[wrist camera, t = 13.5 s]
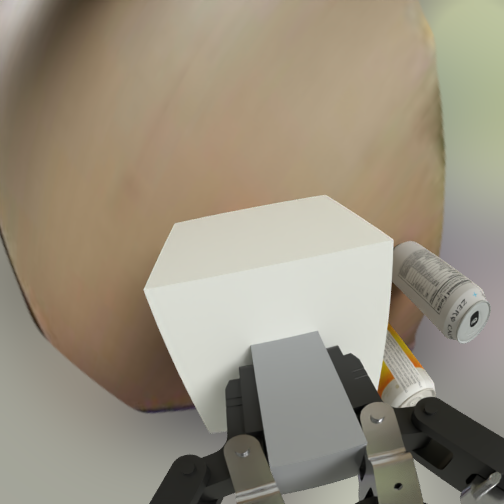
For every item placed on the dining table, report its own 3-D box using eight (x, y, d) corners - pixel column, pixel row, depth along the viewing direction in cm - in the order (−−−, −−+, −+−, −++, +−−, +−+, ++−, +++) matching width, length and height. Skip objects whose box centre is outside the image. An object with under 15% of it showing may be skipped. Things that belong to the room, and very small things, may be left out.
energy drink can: (388, 288, 36) (452, 358, 23) (378, 251, 34) (452, 318, 20) (422, 267, 36) (492, 326, 22) (415, 230, 34) (496, 283, 20)
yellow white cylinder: (352, 352, 40) (394, 429, 26) (343, 325, 38) (390, 407, 24) (388, 334, 40) (437, 404, 26) (381, 305, 37) (439, 378, 24)
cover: (174, 223, 19) (96, 412, 5) (325, 194, 19) (492, 318, 6) (210, 343, 23) (212, 521, 9) (333, 317, 23) (414, 472, 10)
